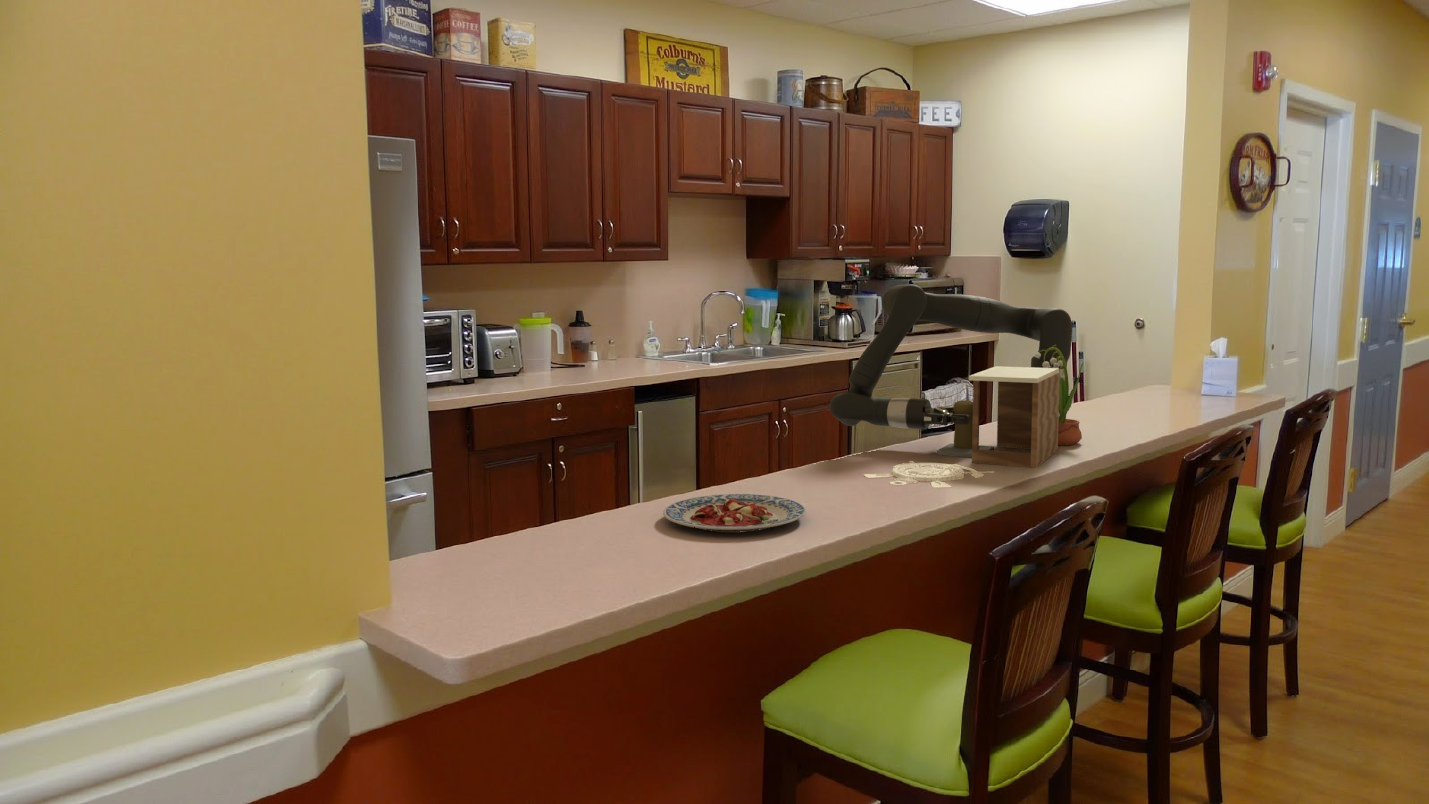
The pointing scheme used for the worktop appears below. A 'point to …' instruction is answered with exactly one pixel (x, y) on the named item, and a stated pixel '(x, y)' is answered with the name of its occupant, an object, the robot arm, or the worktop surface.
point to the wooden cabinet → (1020, 415)
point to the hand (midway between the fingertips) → (974, 417)
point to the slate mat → (960, 450)
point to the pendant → (927, 473)
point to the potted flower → (1064, 401)
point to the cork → (963, 425)
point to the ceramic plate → (734, 512)
